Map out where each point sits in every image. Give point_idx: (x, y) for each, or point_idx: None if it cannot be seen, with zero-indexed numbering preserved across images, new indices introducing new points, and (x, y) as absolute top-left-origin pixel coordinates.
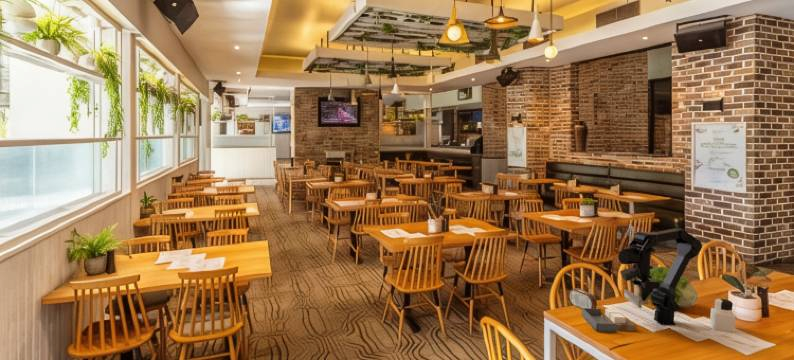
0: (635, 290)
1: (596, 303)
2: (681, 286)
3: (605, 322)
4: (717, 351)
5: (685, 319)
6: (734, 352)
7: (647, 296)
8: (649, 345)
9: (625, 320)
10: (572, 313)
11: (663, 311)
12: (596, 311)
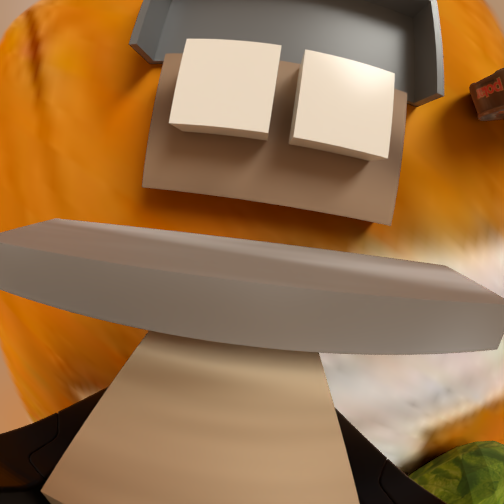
0: (277, 434)
1: (496, 108)
2: None
3: (294, 56)
4: (19, 380)
5: None
6: (30, 413)
7: None
8: (14, 168)
9: (177, 127)
10: (440, 5)
11: None
12: (427, 71)
